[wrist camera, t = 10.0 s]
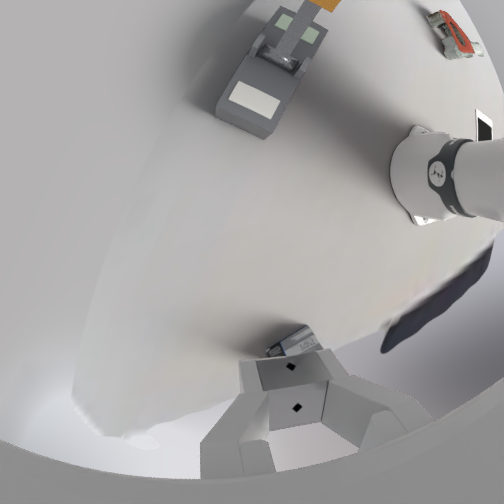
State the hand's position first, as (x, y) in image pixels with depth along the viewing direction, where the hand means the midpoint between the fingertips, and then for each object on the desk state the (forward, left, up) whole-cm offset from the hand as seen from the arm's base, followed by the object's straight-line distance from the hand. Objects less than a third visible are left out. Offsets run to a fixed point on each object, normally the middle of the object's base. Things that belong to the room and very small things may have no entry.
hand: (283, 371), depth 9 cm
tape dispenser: (-54, -43, -35) cm, 78 cm away
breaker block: (-7, -23, -34) cm, 42 cm away
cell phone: (-60, -18, -35) cm, 72 cm away
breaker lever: (-7, -23, -27) cm, 36 cm away
